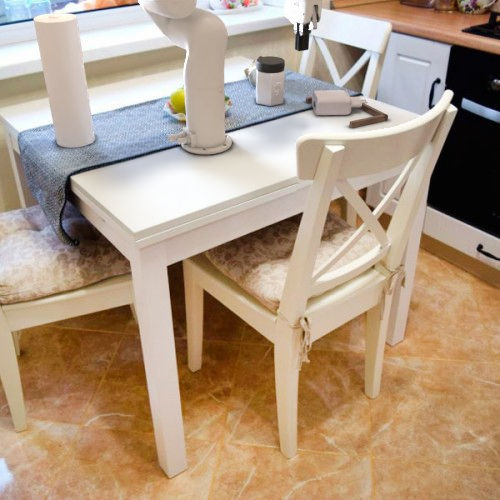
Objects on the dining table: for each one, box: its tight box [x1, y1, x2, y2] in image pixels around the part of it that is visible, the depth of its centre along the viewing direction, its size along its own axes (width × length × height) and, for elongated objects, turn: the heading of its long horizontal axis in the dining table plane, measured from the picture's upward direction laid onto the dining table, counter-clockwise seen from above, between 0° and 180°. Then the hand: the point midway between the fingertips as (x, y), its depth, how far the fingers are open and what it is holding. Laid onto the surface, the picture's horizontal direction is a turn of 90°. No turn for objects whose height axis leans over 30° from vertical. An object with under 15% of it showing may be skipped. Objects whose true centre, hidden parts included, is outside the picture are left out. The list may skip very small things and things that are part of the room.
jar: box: [255, 55, 286, 107], centre depth 171 cm, size 9×8×12 cm
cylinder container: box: [33, 12, 96, 149], centre depth 141 cm, size 9×9×30 cm
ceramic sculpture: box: [243, 55, 263, 88], centre depth 186 cm, size 11×9×15 cm
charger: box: [311, 89, 369, 116], centre depth 167 cm, size 5×9×15 cm
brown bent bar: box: [305, 95, 389, 129], centre depth 167 cm, size 12×22×2 cm, turn 29°
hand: (301, 49), depth 151 cm, fingers closed
